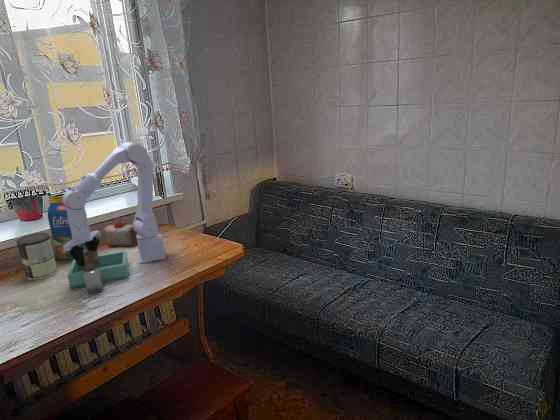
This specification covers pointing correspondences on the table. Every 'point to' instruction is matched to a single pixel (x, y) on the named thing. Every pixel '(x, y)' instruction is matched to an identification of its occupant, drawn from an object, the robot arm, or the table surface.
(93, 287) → the metal cylinder
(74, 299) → the table surface
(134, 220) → the robot arm
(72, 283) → the tote
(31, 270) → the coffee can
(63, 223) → the blue food package
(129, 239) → the food item
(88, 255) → the walnut cube
